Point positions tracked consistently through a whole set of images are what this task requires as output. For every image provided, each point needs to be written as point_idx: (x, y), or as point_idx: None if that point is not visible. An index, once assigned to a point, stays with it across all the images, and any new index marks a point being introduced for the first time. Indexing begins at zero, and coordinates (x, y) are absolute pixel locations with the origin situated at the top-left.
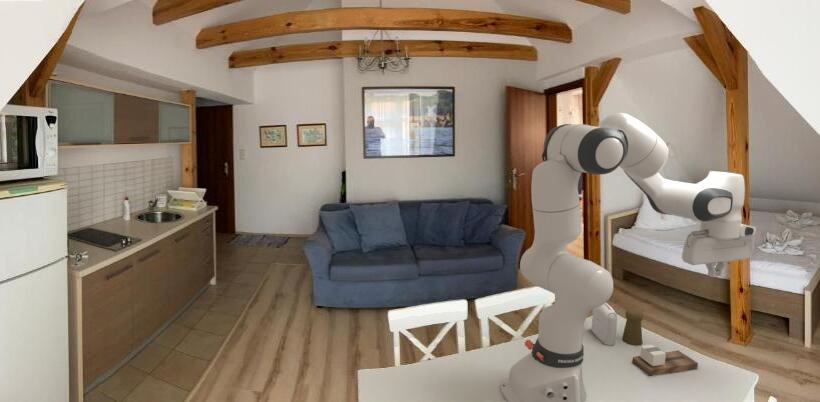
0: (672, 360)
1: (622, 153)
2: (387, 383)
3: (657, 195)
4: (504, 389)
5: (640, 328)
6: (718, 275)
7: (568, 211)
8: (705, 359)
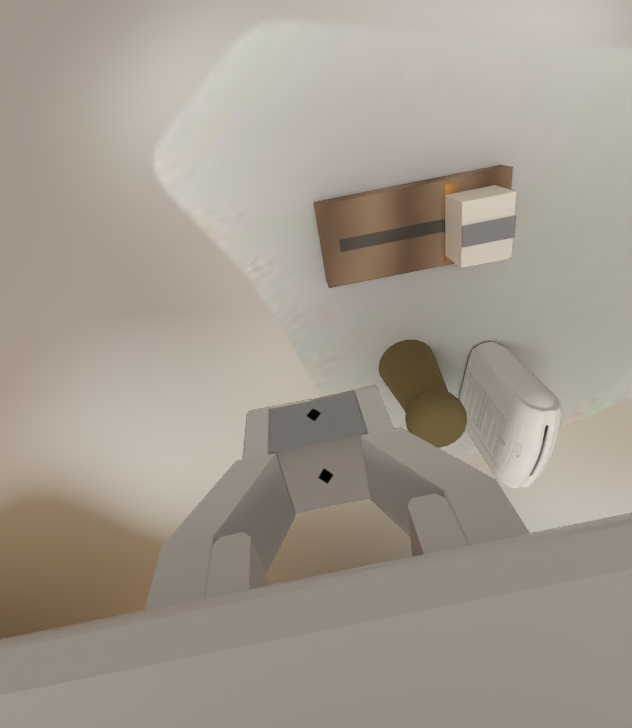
0: (391, 226)
1: None
2: None
3: None
4: None
5: (411, 378)
6: (301, 404)
7: None
8: (246, 260)
